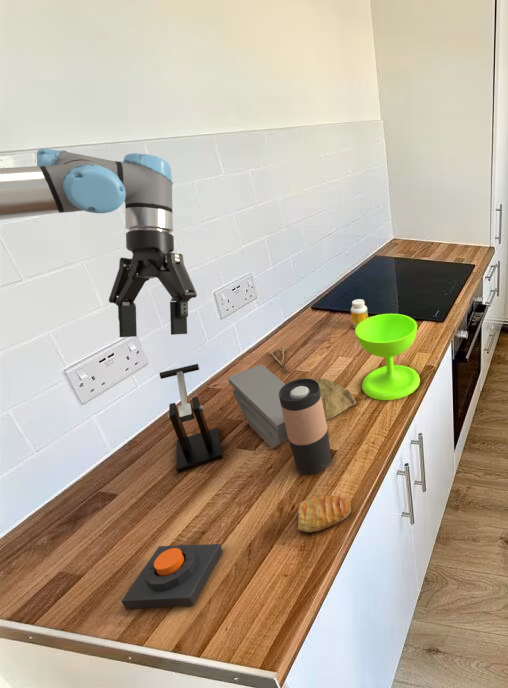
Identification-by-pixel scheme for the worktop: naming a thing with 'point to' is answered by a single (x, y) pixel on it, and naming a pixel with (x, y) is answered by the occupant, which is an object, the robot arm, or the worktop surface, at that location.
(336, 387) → the rock
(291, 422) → the travel mug
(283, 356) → the tongs
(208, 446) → the switch bracket
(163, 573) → the button
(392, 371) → the wineglass
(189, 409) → the switch lever
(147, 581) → the button block
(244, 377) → the sharpening stone
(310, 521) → the pastry
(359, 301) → the supplement bottle
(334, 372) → the worktop surface
